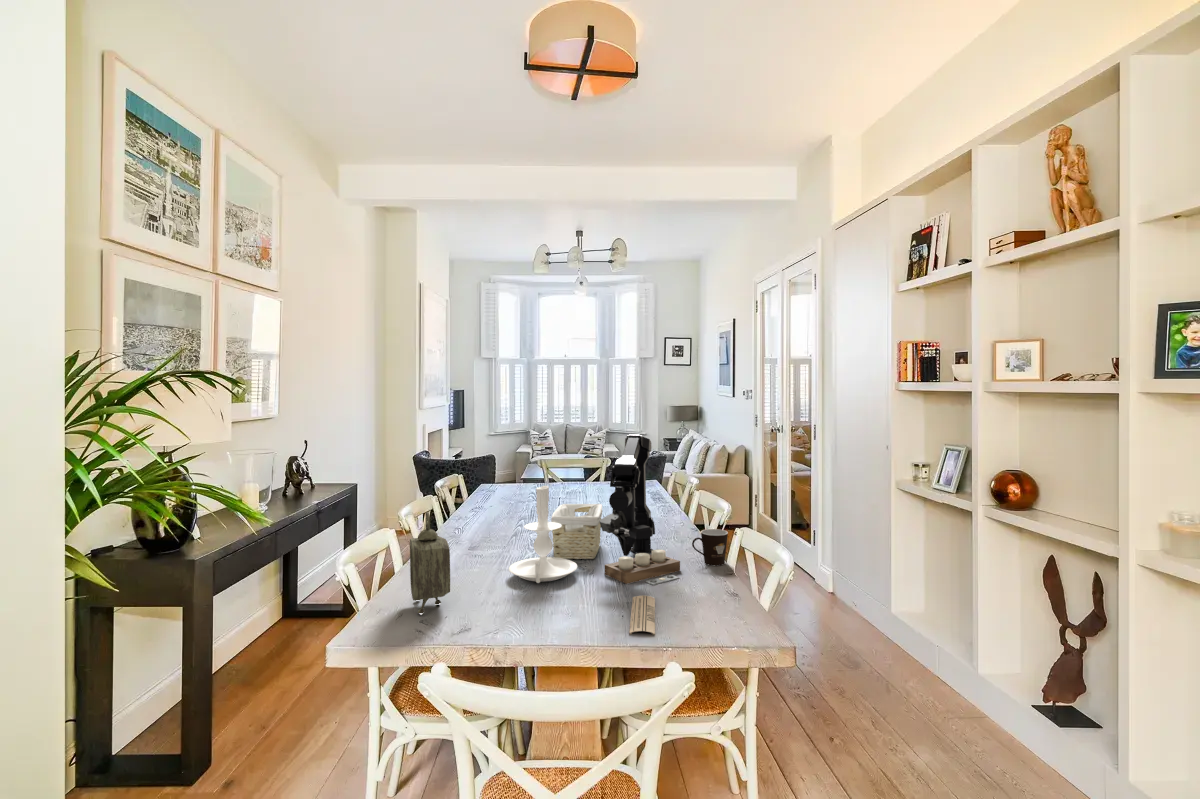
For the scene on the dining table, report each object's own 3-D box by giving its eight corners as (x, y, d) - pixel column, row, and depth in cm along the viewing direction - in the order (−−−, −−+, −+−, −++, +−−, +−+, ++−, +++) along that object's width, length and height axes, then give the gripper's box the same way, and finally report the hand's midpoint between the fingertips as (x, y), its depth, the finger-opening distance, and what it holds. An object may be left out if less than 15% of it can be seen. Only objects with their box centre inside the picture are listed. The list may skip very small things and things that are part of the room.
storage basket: (560, 542, 224) (559, 502, 223) (603, 542, 222) (603, 502, 222) (550, 561, 200) (549, 516, 199) (599, 561, 199) (598, 517, 198)
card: (644, 582, 177) (644, 580, 177) (671, 575, 183) (671, 574, 183) (652, 585, 174) (652, 583, 174) (679, 578, 180) (679, 577, 180)
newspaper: (632, 601, 163) (632, 595, 163) (658, 602, 163) (658, 595, 163) (629, 638, 140) (629, 630, 140) (659, 638, 139) (659, 631, 139)
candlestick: (499, 593, 168) (498, 493, 168) (515, 566, 193) (514, 479, 193) (573, 594, 168) (572, 493, 167) (579, 567, 192) (579, 479, 192)
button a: (615, 569, 183) (615, 558, 183) (627, 566, 185) (627, 555, 185) (624, 572, 179) (624, 561, 179) (636, 569, 182) (636, 558, 182)
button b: (632, 565, 187) (632, 554, 186) (643, 562, 189) (643, 552, 189) (641, 568, 183) (641, 557, 183) (652, 565, 186) (652, 555, 185)
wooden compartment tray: (604, 574, 184) (604, 564, 184) (656, 562, 197) (656, 553, 197) (626, 584, 176) (626, 573, 175) (680, 570, 188) (680, 561, 188)
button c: (648, 561, 190) (648, 551, 190) (659, 559, 193) (659, 548, 193) (657, 564, 187) (657, 554, 187) (668, 562, 189) (668, 551, 189)
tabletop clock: (410, 600, 164) (409, 508, 163) (444, 595, 167) (443, 505, 166) (414, 619, 150) (412, 519, 150) (451, 614, 153) (449, 516, 153)
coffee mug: (726, 559, 200) (726, 529, 199) (729, 567, 191) (729, 535, 191) (690, 558, 201) (690, 528, 201) (692, 566, 192) (692, 535, 192)
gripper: (586, 502, 185) (586, 553, 185) (623, 513, 170) (623, 568, 170) (615, 498, 191) (615, 547, 192) (653, 508, 176) (653, 561, 176)
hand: (625, 555), depth 182 cm, fingers closed
